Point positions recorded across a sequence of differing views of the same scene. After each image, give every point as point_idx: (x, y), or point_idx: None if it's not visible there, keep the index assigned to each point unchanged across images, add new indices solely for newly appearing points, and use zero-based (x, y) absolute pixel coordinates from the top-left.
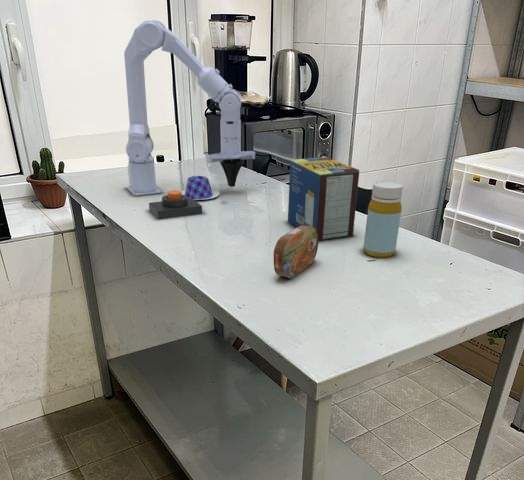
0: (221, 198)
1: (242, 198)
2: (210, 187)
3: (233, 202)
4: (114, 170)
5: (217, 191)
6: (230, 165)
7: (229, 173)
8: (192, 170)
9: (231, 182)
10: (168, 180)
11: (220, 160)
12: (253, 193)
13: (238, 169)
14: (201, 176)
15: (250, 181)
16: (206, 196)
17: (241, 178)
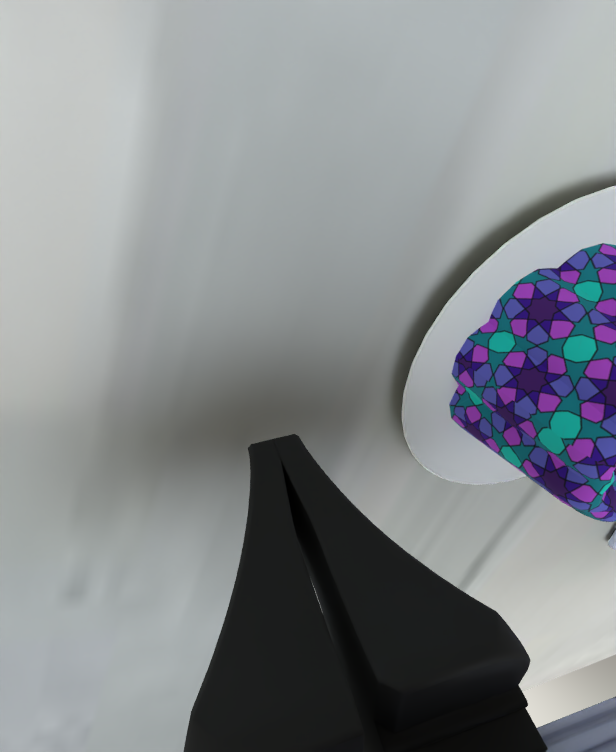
0: (425, 257)
1: (207, 196)
2: (525, 384)
3: (381, 34)
4: (567, 665)
5: (406, 401)
6: (451, 649)
7: (379, 540)
8: None
9: (305, 461)
10: (491, 608)
11: (579, 736)
12: (23, 370)
13: (249, 624)
14: (610, 504)
15: (25, 652)
16: (565, 277)
17: (92, 685)
